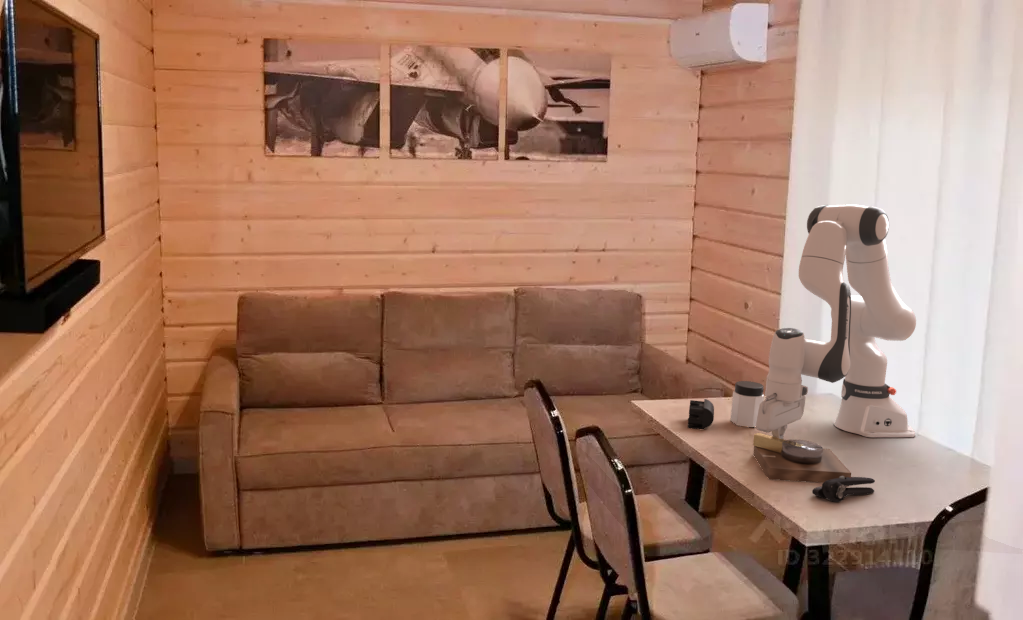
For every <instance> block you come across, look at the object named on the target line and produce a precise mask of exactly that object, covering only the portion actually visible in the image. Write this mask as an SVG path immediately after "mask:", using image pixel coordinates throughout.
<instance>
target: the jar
mask: <svg viewBox="0 0 1023 620" xmlns="http://www.w3.org/2000/svg"><path fill="white" fill-rule="evenodd" d="M731 400H732V401H731V410H730V419H729V421H730V422H731V421H732V422H733V423H732V422H731V423H732V424H734V423H735V424H736V426H737V425H740V426H739V427H741V426H748V427H747V428H749V427H754V428H756V427H755V426H756V421H757V415H758V410H759V406H760V404H761V402H763V401H764V400H765V394H764V385H763V384H762V383H760V382H757V381H756V382H755V381H751V380H750V381H749V380H740V381H739V380H738V381H736V382H735V385H734V390H733V391H732V399H731ZM735 424H734V425H735Z"/></svg>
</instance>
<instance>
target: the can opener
mask: <svg viewBox="0 0 1023 620" xmlns="http://www.w3.org/2000/svg"><path fill="white" fill-rule="evenodd" d="M874 483H875V479H874V478H872V477H865V476H851V477H844V476H840V477H839V478H836V479H831V480H826V481H825V482H824V483H822V485H821V486H817V487H814V488H813V489H812V490H811V493H812V495H814V496H816V497H818V498H819V497H820V498H822V499H827V500H829V501H830V502H833V503H834V502H835V503H840V502H842V501H844V498H846V496H851V495H853V496H856V495H857V496H864V495H870V494H873V493H874V492H875V489H874V488H872V487H867V486H865V487H859V486H858V485H869V484H874ZM849 486H850V487H849ZM851 486H857V487H851Z"/></svg>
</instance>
